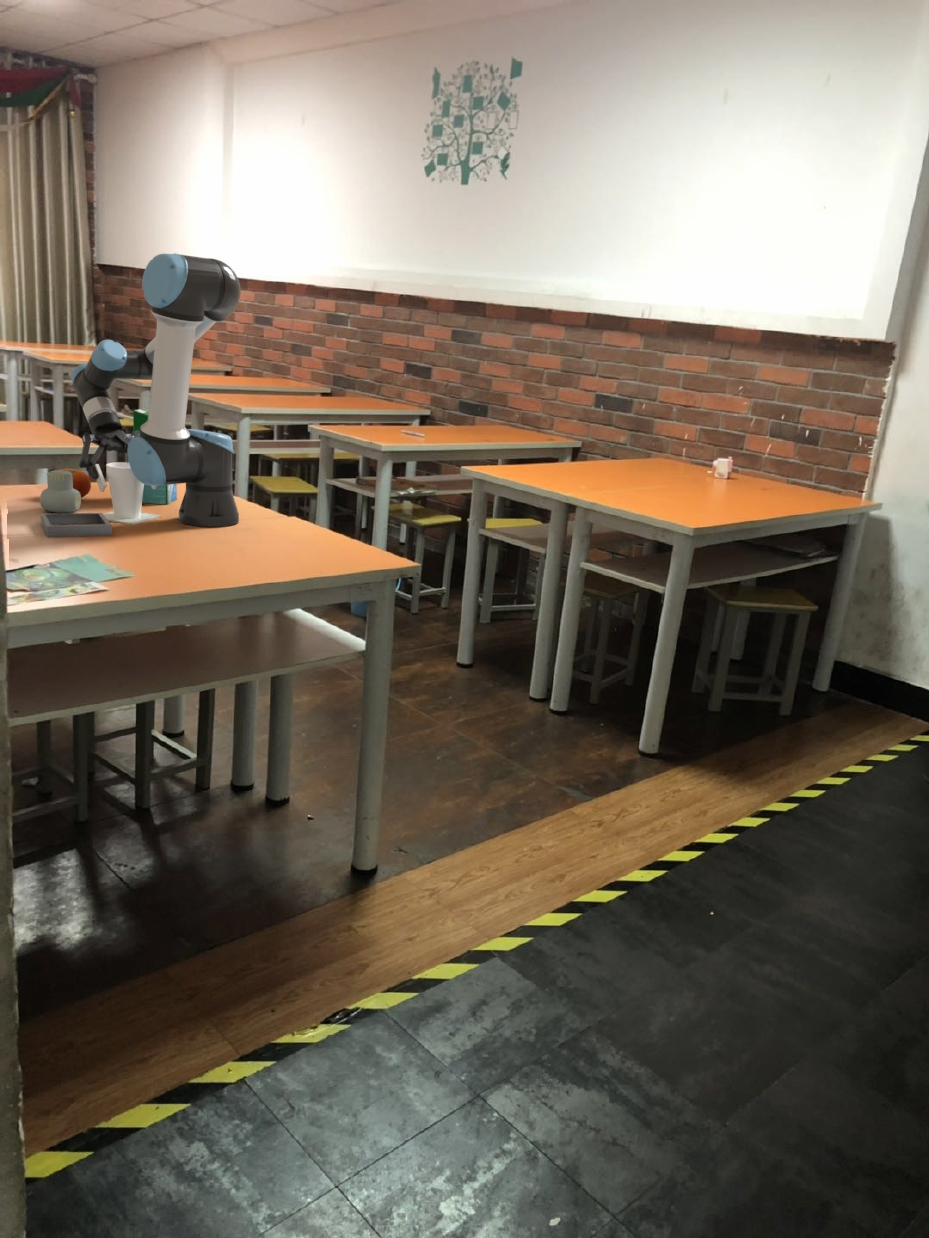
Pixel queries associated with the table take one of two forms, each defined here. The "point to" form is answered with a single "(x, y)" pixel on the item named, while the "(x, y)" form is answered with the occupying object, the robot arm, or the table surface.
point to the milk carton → (150, 495)
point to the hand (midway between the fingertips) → (130, 487)
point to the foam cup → (124, 490)
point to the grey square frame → (75, 530)
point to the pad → (131, 521)
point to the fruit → (80, 481)
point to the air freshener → (60, 493)
